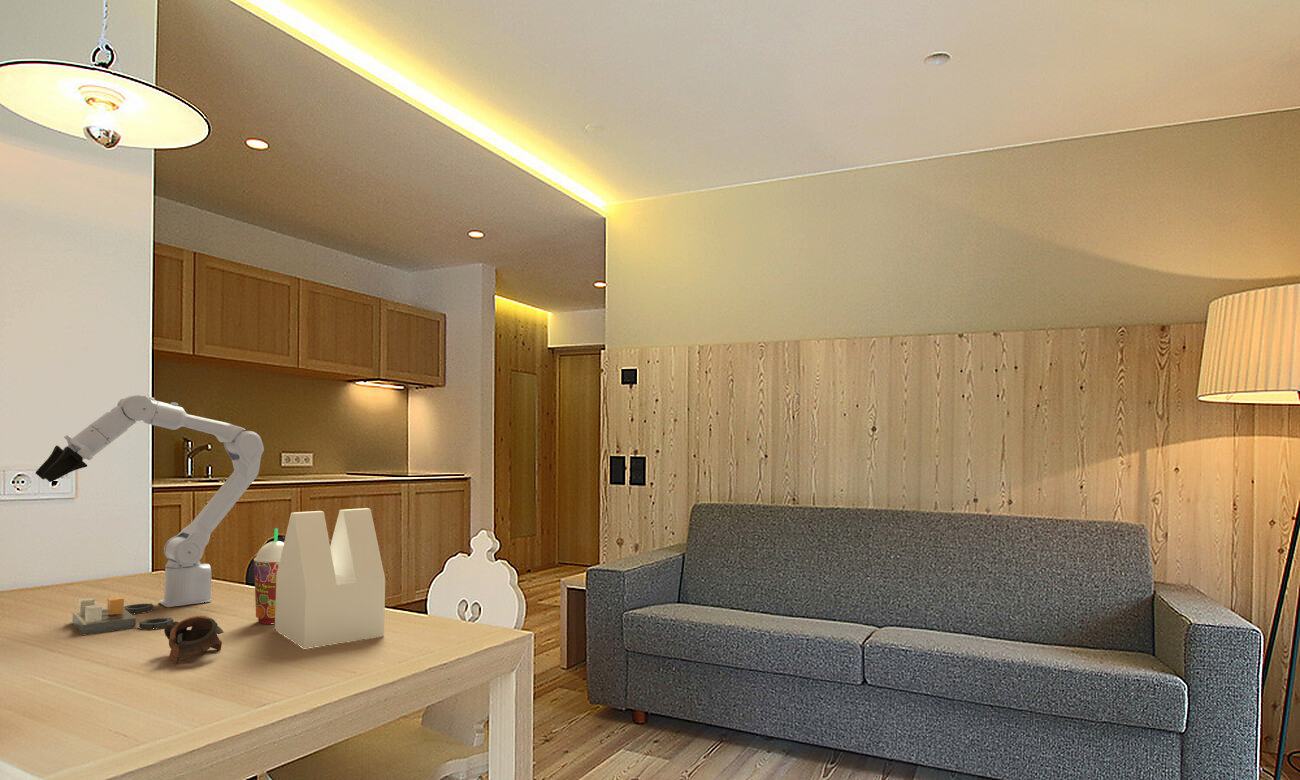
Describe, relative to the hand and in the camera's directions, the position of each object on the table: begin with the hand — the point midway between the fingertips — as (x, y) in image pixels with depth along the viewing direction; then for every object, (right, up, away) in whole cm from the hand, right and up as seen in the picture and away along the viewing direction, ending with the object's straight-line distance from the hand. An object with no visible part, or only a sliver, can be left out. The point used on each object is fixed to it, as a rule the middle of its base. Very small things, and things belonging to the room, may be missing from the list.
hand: (42, 477), depth 169 cm
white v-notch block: (+66, -31, -10) cm, 74 cm away
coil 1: (+15, -32, +9) cm, 36 cm away
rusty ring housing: (+48, -30, -27) cm, 62 cm away
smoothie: (+50, -31, 0) cm, 59 cm away
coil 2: (+28, -31, -5) cm, 42 cm away
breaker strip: (+16, -31, -4) cm, 35 cm away
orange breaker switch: (+17, -29, -2) cm, 34 cm away
